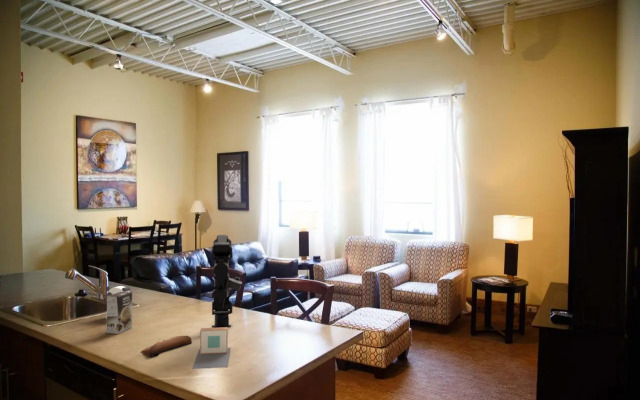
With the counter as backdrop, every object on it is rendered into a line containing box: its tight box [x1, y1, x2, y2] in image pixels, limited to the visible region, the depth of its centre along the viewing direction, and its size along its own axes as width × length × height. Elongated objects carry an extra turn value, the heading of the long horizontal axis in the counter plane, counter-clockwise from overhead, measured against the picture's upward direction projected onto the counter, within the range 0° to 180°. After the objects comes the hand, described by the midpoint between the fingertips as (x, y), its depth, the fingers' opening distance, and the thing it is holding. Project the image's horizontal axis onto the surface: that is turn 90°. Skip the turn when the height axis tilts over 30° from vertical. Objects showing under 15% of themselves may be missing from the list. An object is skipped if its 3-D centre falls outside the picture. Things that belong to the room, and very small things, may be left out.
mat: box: [191, 347, 232, 370], centre depth 155 cm, size 19×12×1 cm, turn 9°
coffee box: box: [106, 291, 133, 335], centre depth 186 cm, size 9×6×16 cm
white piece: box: [105, 284, 131, 320], centre depth 207 cm, size 12×11×15 cm
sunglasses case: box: [139, 335, 193, 358], centre depth 165 cm, size 18×7×7 cm
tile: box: [199, 327, 229, 354], centre depth 160 cm, size 3×10×9 cm, turn 99°
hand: (221, 310), depth 177 cm, fingers closed
